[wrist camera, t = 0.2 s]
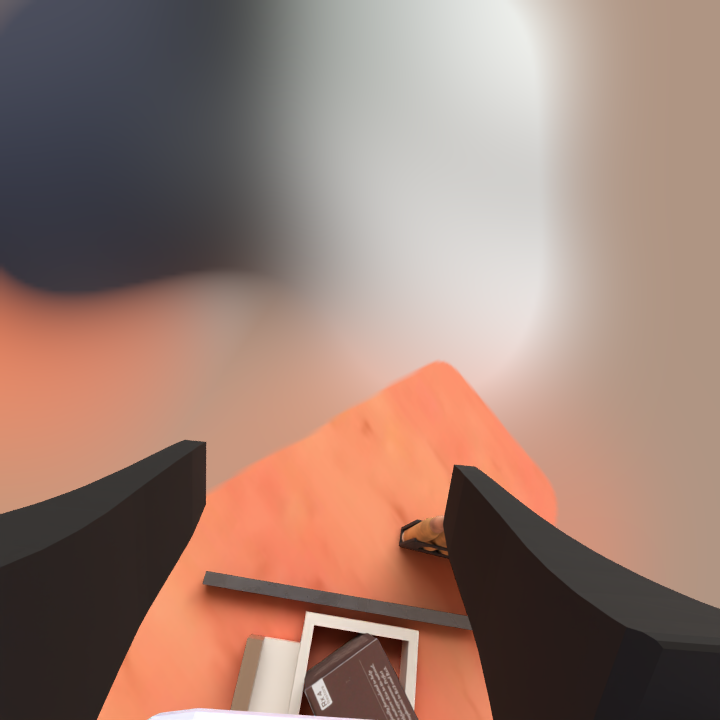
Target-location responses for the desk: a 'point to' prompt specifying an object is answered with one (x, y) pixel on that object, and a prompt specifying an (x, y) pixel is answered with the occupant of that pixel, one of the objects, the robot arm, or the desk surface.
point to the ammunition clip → (425, 536)
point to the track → (336, 600)
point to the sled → (289, 664)
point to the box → (357, 684)
